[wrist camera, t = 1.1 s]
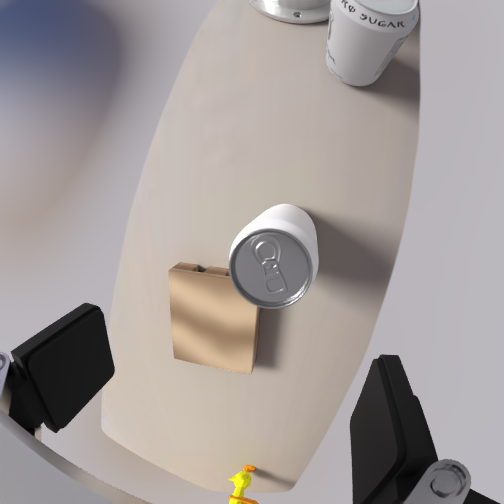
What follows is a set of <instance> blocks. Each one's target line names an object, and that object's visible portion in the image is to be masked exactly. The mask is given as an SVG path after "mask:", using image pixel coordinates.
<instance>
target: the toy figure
mask: <svg viewBox="0 0 504 504" xmlns="http://www.w3.org/2000/svg"><path fill="white" fill-rule="evenodd" d="M243 469H244V470H245V471H241V472H239V473H238V474H236V475H235V476H233V477H232V478H230V479H228V480H230V481H234V484H235V486H236V489H235V491H234V493H233V495H232V496H229V498H228V499H229V500H230V503H229V504H258V503H257V502H256V501H254V500H251V499H248V498H244V497H243V495H244V489H245V488H247V487H248V486H250V483H251V476H250V474H249V473H248V472H253V471H254V470H255V467H253V466H249V465H245V467H243Z"/></svg>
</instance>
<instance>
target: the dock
mask: <svg viewBox="0 0 504 504" xmlns="http://www.w3.org/2000/svg"><path fill="white" fill-rule="evenodd" d="M169 292H170V311H171V326H172V339H173V350H174V358H175V359H179V360H183V361H187V362H192V363H196V364H200V365H205V366H209V367H214V368H219V369H224V370H229V371H234V372H239V373H245V374H250V375H251V373H252V370H253V367H254V364H255V361H256V352H257V341H258V330H259V319H260V307H258V306H255V305H253V304H251V303H249V302H248V301H246V300H245V299H244V298H243V297H242V296H241V295H240V294H239V293H238V292H237V291H236V289H235V287H234V286H233V284H232V281H231V278H230V274H229V269H224V268H217V267H209V268H208V269H207V270H206V271H205V272H203V273H201V272H199V265H195V264H188V263H181V262H180V263H178V264H177V265H175V266H174V267H173V268H171V269H170V270H169Z"/></svg>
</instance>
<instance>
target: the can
mask: <svg viewBox="0 0 504 504" xmlns="http://www.w3.org/2000/svg"><path fill="white" fill-rule="evenodd" d="M318 262H319V259H318V245H317V236H316V229H315V226H314V223H313V221H312V219H311V218H310V216H309V215H308V214H307V213H306V212H305V211H303V210H302V209H300V208H299V207H296V206H293V205H289V204H280V205H276V206H274V207H271V208H269V209H268V210H266V211H265V212H263V213H262V214H261V215H259V216H258V217H257V218H256V219H254V220H253V221H252V222H251V223H250V224H248V225H247V226H246V227H245V228H244V229H243V230H242V231H241V232H240V233H239V234H238V236H237V237H236V239H235V240H234V242H233V245H232V247H231V251H230V257H229V274H230V278H231V281H232V284H233V286H234V287H235V289H236V291H237V292H238V293H239V294H240V295H241V296H242V297H243V298H244V299H245V300H246V301H248V302H249V303H251V304H253V305H255V306H258V307H261V308H266V309H279V308H284V307H287V306H290V305H292V304H294V303H295V302H297V301H298V300H299V299H300V298H301V297H302V296H303V295H304V294H305V293H306V292H307V291H308V290H309V289H310V287H311V286H312V284H313V282H314V280H315V278H316V275H317V271H318Z"/></svg>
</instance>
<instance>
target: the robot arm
mask: <svg viewBox="0 0 504 504" xmlns="http://www.w3.org/2000/svg"><path fill="white" fill-rule="evenodd" d="M249 2H250V3H251V5H252V6H253V7H254V8H255V9H256V10H258V11H259V12H260V13H262V14H264V15H266V16H268V17H270V18H273V19H276V20H279V21H283V22H288V23H299V24H303V23H315V22H321V21H325V20H328V19H329V17H330V5H331V0H249ZM11 354H12V356H13V359H14V362H12V363H11V360H10V358H9V356H8V355H7V354H6V353H3V352H0V504H152V503H149V502H146V501H144V500H142V499H139V498H137V497H135V496H133V495H130V494H128V493H126V492H124V491H122V490H120V489H117V488H116V487H113V486H112V485H109V484H108V483H105V482H104V481H102V480H100V479H98V478H96V477H95V476H93V475H91V474H89V473H87V472H86V471H84V470H82V469H81V468H79V467H77V466H76V465H74V464H72V463H71V462H69V461H68V460H66V459H65V458H63V457H62V456H60V455H58V454H57V453H56V452H54V451H53V450H51V449H50V448H48V447H47V446H45V445H44V444H43V443H42V442H41V424H42V423H43V422H44V424H45V425H46V427H47V428H49V429H50V430H52V431H53V432H55V433H57V432H58V431H59V430H60V429H61V428H64V427H66V426H67V424H68V423H69V422H70V421H71V420H72V419H73V418H74V417H75V416H76V415H77V414H78V413H79V412H80V411H81V409H82V408H83V407H84V406H85V405H86V404H87V403H88V402H89V401H90V400H91V399H92V398H93V397H94V396H95V394H96V393H97V392H98V391H99V390H100V389H101V388H102V387H103V386H104V385H105V384H106V383H107V382H108V381H109V380H110V379H111V378H112V376H113V375H114V372H115V367H114V363H113V359H112V354H111V350H110V345H109V340H108V335H107V330H106V325H105V320H104V314H103V312H102V311H101V309H100V307H98V306H96V305H92V304H89V303H84V304H82V305H81V306H79V307H77V308H76V309H74V310H73V311H71V312H70V313H68V314H66V315H65V316H63V317H62V318H60V319H59V320H57V321H56V322H54V323H53V324H51V325H49V326H48V327H46V328H45V329H43V330H42V331H40V332H39V333H37V334H36V335H34V336H33V337H31V338H30V339H28V340H27V341H26V342H24V343H23V344H21V345H20V346H18V347H17V348H16V349H14V350H12V351H11ZM350 435H351V454H352V480H353V481H352V482H353V504H500V503H498V502H496V501H494V500H491V499H490V498H488V497H486V496H484V495H482V494H480V493H477V492H476V491H473V490H472V489H470V485H471V476H470V474H469V471H468V470H467V468H466V467H465V466H464V465H463V464H461V463H460V462H458V461H455V460H451V459H443V460H440V461H438V457H437V454H436V450H435V447H434V443H433V440H432V437H431V434H430V431H429V428H428V425H427V422H426V419H425V416H424V413H423V410H422V407H421V404H420V401H419V399H418V397H417V396H415V395H413V392H412V389H411V386H410V384H409V381H408V378H407V376H406V373H405V371H404V368H403V365H402V364H401V360H400V358H399V356H398V355H380V356H379V358H378V359H374V360H373V362H372V364H371V367H370V370H369V373H368V376H367V378H366V381H365V384H364V386H363V389H362V392H361V394H360V397H359V399H358V402H357V405H356V407H355V409H354V411H353V414H352V416H351V420H350Z"/></svg>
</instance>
